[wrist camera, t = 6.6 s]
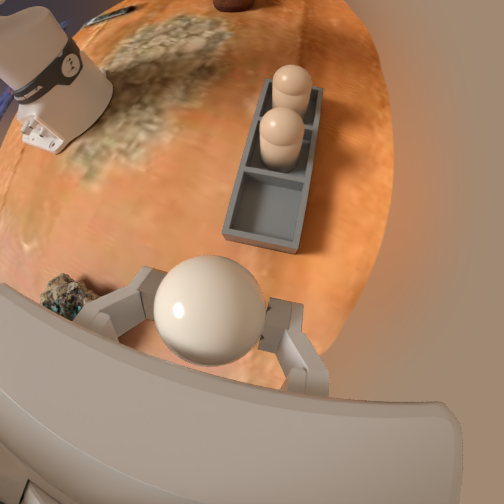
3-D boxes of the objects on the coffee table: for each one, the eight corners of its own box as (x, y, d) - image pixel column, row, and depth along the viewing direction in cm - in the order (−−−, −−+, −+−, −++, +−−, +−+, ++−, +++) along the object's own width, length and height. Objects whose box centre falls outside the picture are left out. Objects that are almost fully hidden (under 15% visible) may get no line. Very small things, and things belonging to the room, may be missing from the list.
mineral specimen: (49, 335, 28) (25, 351, 21) (50, 269, 29) (23, 270, 21) (129, 349, 32) (120, 372, 24) (132, 281, 32) (122, 287, 25)
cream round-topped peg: (187, 331, 16) (124, 356, 8) (203, 263, 17) (151, 233, 9) (255, 349, 16) (248, 395, 8) (272, 279, 17) (280, 262, 8)
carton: (226, 240, 30) (210, 215, 21) (265, 93, 33) (265, 46, 24) (294, 254, 29) (306, 235, 20) (319, 103, 33) (330, 57, 24)
